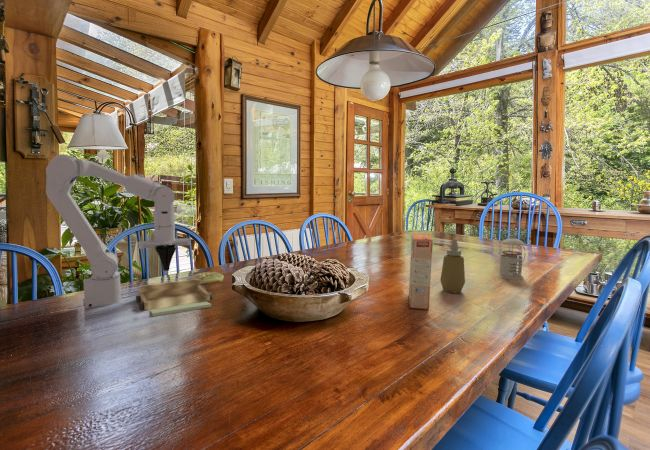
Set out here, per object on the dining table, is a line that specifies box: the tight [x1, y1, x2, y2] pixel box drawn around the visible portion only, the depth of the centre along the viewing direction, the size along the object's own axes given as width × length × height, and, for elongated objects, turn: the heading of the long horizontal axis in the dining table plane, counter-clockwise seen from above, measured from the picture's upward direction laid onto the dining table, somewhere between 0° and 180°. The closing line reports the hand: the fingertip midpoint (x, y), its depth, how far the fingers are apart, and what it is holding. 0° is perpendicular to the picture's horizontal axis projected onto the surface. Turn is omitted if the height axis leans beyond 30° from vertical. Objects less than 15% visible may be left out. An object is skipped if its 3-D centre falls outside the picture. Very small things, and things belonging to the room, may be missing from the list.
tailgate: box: [149, 301, 212, 317], centre depth 107 cm, size 15×1×6 cm
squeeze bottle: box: [439, 238, 466, 294], centre depth 131 cm, size 8×8×18 cm
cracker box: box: [408, 232, 434, 310], centre depth 118 cm, size 14×6×21 cm, turn 168°
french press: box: [496, 213, 526, 281], centre depth 153 cm, size 10×12×25 cm
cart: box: [135, 278, 213, 312], centre depth 114 cm, size 20×12×6 cm, turn 122°
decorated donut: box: [192, 271, 225, 285], centre depth 137 cm, size 10×11×4 cm
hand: (166, 270), depth 118 cm, fingers closed
